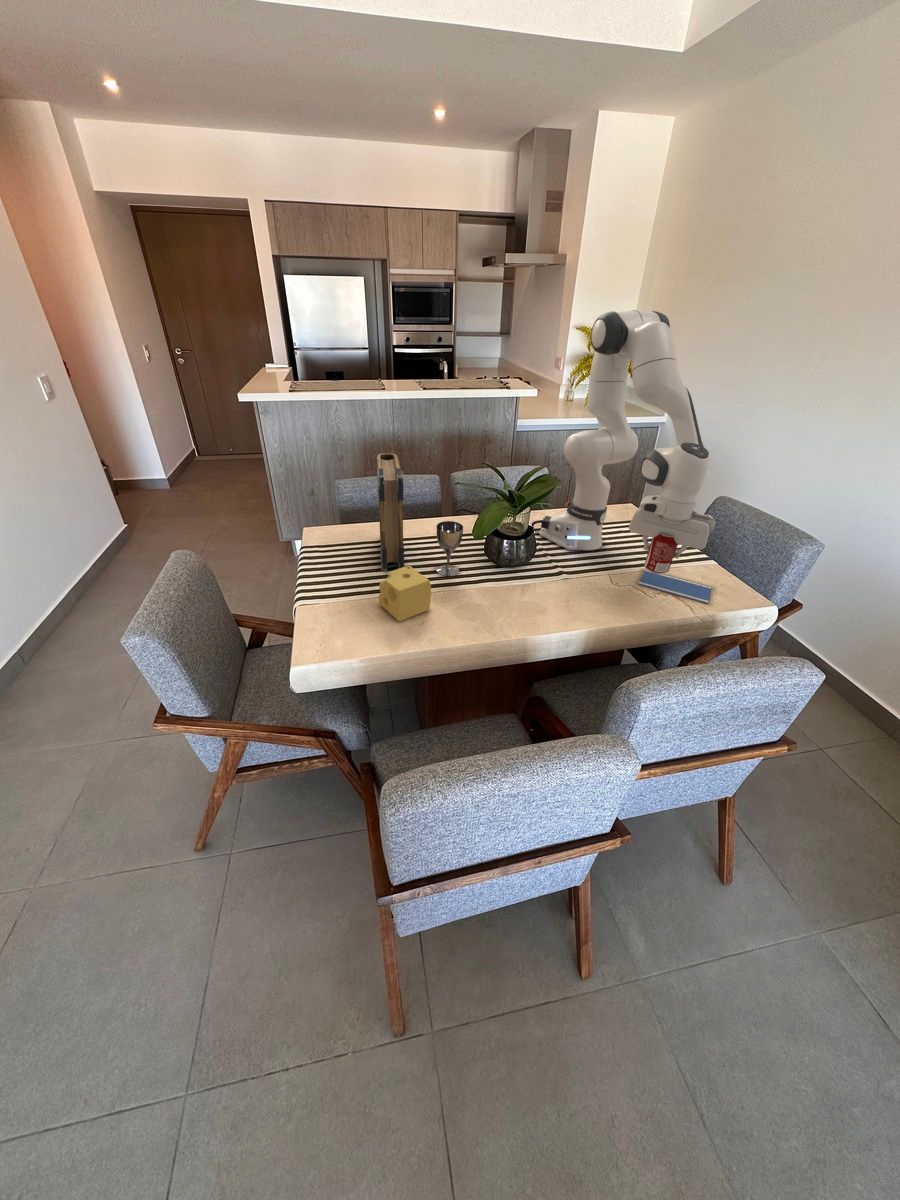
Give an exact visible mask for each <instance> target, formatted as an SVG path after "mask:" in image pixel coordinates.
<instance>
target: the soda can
mask: <svg viewBox="0 0 900 1200" xmlns="http://www.w3.org/2000/svg"><path fill="white" fill-rule="evenodd" d="M674 537H675V536H668V535H664V534H662V533H660V532H659V535H657V536H656V537H654V538H653V537H651V541H650V543H651V544H650V548H649V551H647V554H646V557H645V559H644V563H643V566H644V568H645V569H647V570H649V571H650V572H652V573H656V574H667V573H668V572H669V570H670V568H671V565H672V562H673V559H674V558H673V556H674V553H675V551H676V550H677V548H678V545H679V544H676V542H675V540H674Z"/></svg>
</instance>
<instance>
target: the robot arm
mask: <svg viewBox="0 0 900 1200" xmlns="http://www.w3.org/2000/svg"><path fill="white" fill-rule="evenodd" d="M670 323H671V322H670V320H669V318H668V316H667V315H666V314H664V313H662V312H659V311H656V310H652V311H649V310H643V309H642V310H641V309H631V310H623V311H607V312H604V313H602V314H600V315H599V316H597V317H596V319H595V320H594V323H593V324H592V328H591V331H590V343H591V346H592V349H593V350H594V353H593V357H592V361H591V367H590V373H589V382H588V390H587V391H588V393H587V403H586V406H587V410H588V411H589V413H590V414H591V415H593V416H594V417H595V418H596V420H597V423H598V429H588V430H582V431H579V432H575V433H573V434H571V435H569V436H568V437H567V439H566V440H565V443H564V446H563V455H564V458H565V460H566V461H567V463H568V464H569V465H570V466H571V467H572V468H573V471H574V475H575V488H574V495H573V498H572V499H571V500H569V501H568V502H566V503H565V506H564V507H565V508H566V509H564V510H562V511H560V512H558V513H556V514H554V515H553V516H550V515H545V516H544V517H543V519H539V520H534V521H533V522H532V523H531V524H530V526H531V525H532V526H533V527H535V525H537V524H541V525H540V528H541V529H540V530H539V532H538V534H539V536H541V537H542V538H544V539H546V540H548V541H550V542H552V543H554V544H556V545H558V546H560V547H562V548H564V549H566V550H568V551H577V550H578V551H595V550H596V551H597V550H599V549H600V548H602V547H603V527H604V526H603V525H604V523H605V519H606V516H607V510H608V506H607V504H608V499H609V495H610V492H611V491H610V490H611V483H610V481H609V480H608V478H606V477H605V476H604V475H603V471H602V470H603V466H605V465H612V464H613V465H615V464H620V463H623V462H626V461H628V460H631V459H633V458H634V457H635V455H636V454H637V452H638V448H639V439H638V436H637V434H636V432H635V431H634V430H633V429H632V428H631V426H630V425H629V422H628V419H627V414H626V397H627V385H628V375H629V365H630V366H631V379H632V386H633V391H634V393H635V395H636V396H637V397H638V398H639V399H640V400H641V401H643V402H644V403H645V404H648V405H651V406H653V407H656V408H657V409H660V411H661V410H662V411H663V412H665V414H667V416H668V417H669V418H670V420H671V422H672V427H673V430H674V431H673V432H674V435H675V439H676V444H677V445H676V446H672V447H659V448H653V449H650V450H648V451H646V453H645V454H644V455H643V457H642V458H641V462H640V465H639V467H640V468H639V469H640V470H639V471H640V476H641V478H642V479H643V481H644V482H645V483H646V484H648V485H651V486H654V487H660V488H661V489H662V492H661V494H653V495H646V496H644V497H643V498H642V500H641V501H640V504H639V507H638V508H637V509H636V510H635V512H634V514H633V515H632V517H631V520H630V522H629V525H628V529H629V531H630V532H631V533H634V534H638V535H641V536H642V541H643V544H644V545H643V551H647V552H648V551H649V548H650V544H651V542H649V540H648V539H649V538H654V537H656V536H657V535H659V532H660V533H662V534H664V535H668V536H675V537H674V540H675V542H676V544H678V545H681V546H680V549H676V551H675V553H674V556H673V559H677V560H679V558H680V556H681V554H683V553H684V552H685V551H686V550H687V549H688V547H689V548H692V549H695V550H703V549H705V548H706V547H707V544H708V540H709V535H710V533H711V532H712V531H714V529H715V526H716V523H717V522H716V520H715V518H714V517H712V515H710V514H703V513H701V512H698V511H694V510H695V509H696V504H697V503H698V500H699V491H700V490H701V488H702V487H703V485H704V482H705V479H706V477H707V473H708V469H709V466H710V452H709V450H708V449H707V448H706V447H705V446H704V444H703V440H702V437H701V432H700V428H699V424H698V419H697V414H696V410H695V407H694V402H693V399H692V396H691V395H692V394H691V393H690V391H689V389H688V388H687V387H686V386H685V384H684V382H683V381H682V378H681V375H680V372H679V369H678V362H677V353H676V347H675V343H674V339H673V335H672V331H671V324H670ZM463 511H464V512H468V513H470V514H475V515H479V514H480V513H482V512H480V511H476V510H472V509H469V508H464V507H461V508H458V509H456V510H455V513H459V512H463Z"/></svg>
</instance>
